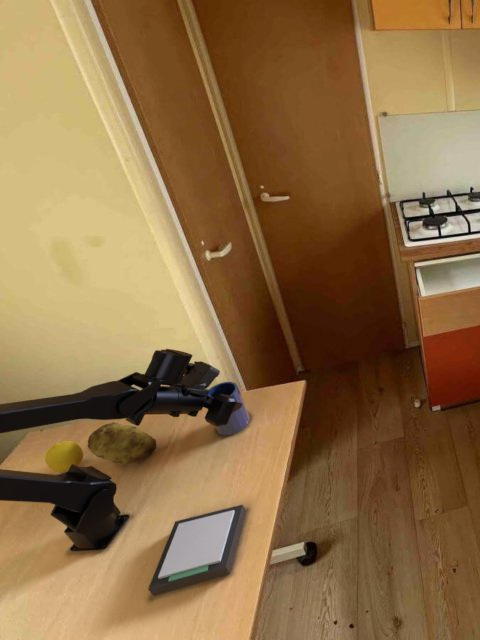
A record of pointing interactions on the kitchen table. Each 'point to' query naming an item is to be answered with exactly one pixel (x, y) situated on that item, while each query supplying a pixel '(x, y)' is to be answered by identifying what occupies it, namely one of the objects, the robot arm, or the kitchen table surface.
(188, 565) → the scale
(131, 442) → the potato
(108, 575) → the kitchen table surface
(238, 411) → the cup
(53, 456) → the lemon
